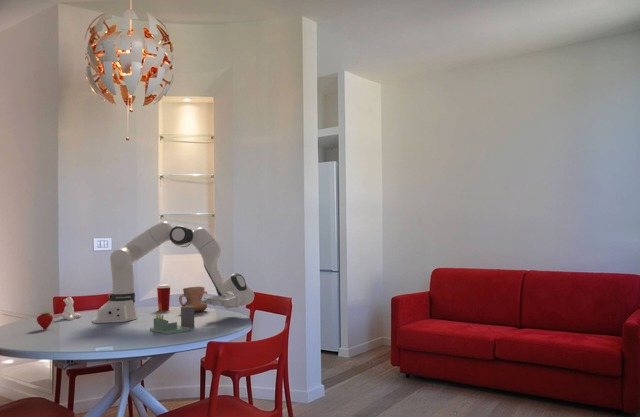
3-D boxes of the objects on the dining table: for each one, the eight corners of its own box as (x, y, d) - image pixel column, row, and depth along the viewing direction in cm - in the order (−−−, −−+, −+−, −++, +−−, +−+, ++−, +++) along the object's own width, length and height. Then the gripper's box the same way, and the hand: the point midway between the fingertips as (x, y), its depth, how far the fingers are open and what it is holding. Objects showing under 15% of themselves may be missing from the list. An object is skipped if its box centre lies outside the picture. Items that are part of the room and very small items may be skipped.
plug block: (188, 326, 266) (188, 304, 266) (194, 327, 263) (194, 305, 263) (181, 327, 262) (180, 305, 262) (186, 328, 259) (186, 306, 259)
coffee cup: (173, 309, 321) (172, 284, 321) (167, 311, 313) (167, 285, 313) (159, 309, 322) (159, 284, 322) (154, 311, 314) (153, 285, 314)
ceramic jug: (201, 308, 321) (201, 285, 321) (213, 311, 310) (212, 286, 310) (173, 312, 309) (173, 288, 309) (185, 315, 298) (184, 290, 298)
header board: (171, 326, 265) (171, 310, 265) (190, 330, 254) (190, 313, 254) (149, 330, 255) (149, 313, 256) (168, 334, 245) (168, 316, 245)
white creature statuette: (71, 320, 286) (71, 298, 286) (57, 320, 288) (57, 298, 288) (82, 317, 295) (82, 295, 296) (68, 317, 297) (68, 295, 297)
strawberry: (34, 330, 260) (34, 309, 260) (48, 327, 266) (49, 307, 267) (40, 331, 257) (40, 310, 257) (55, 328, 263) (55, 308, 263)
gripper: (216, 292, 289) (195, 295, 278) (241, 295, 276) (219, 298, 265) (216, 304, 289) (195, 307, 278) (241, 307, 275) (220, 311, 265)
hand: (207, 303), depth 272 cm, fingers open, 8 cm apart
